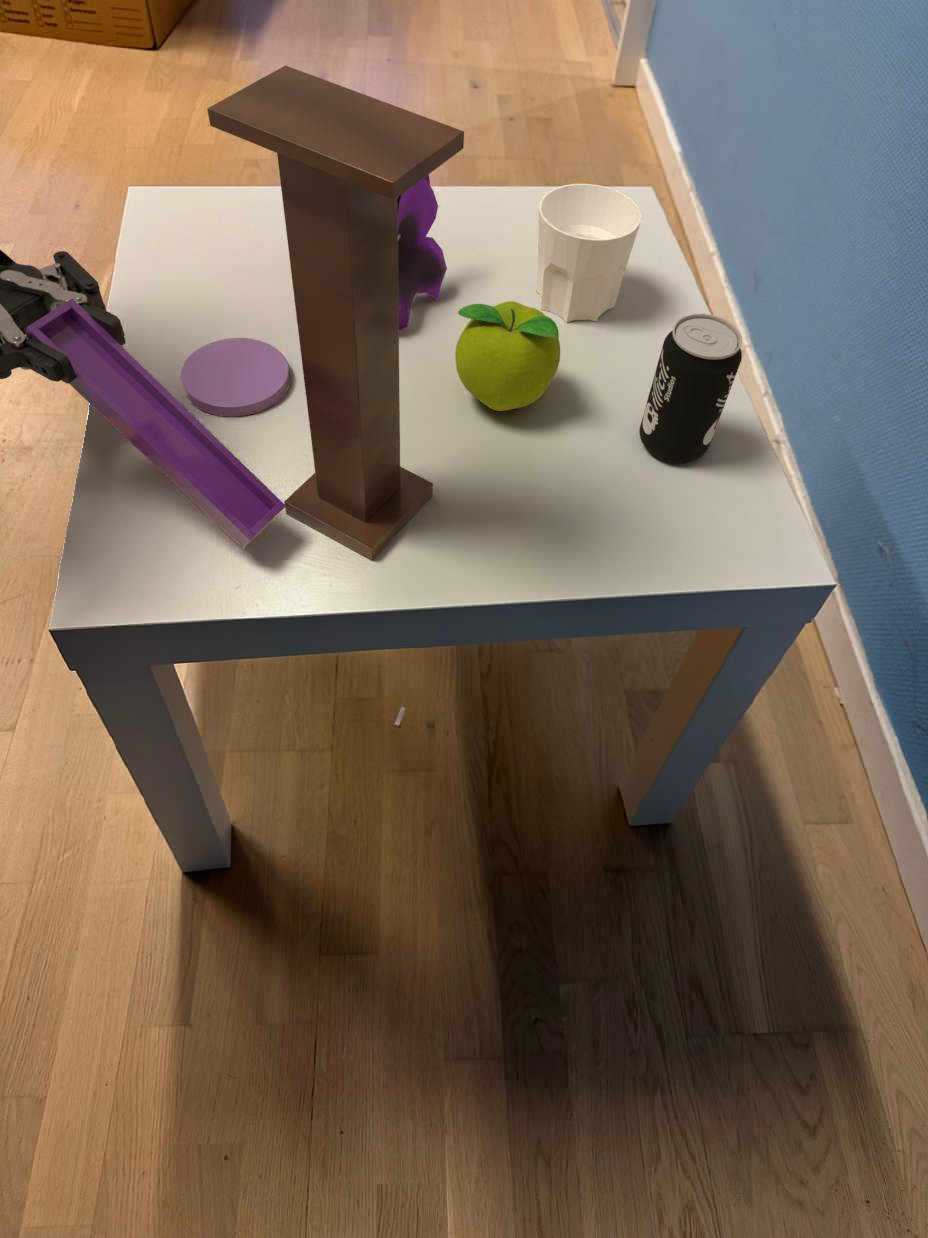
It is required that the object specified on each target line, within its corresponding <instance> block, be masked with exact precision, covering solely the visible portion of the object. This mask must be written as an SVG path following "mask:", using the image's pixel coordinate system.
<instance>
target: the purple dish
mask: <svg viewBox="0 0 928 1238" xmlns="http://www.w3.org/2000/svg"><path fill="white" fill-rule="evenodd" d="M25 336H26V339H27V340H29V339H31V338H34V339H36V340H38V341H40V342H42V343H44V344H46V345H48V346H50V347H51V348H53V349H55V350H57V351H59V352H61V353H63V354H64V355H66V356H67V357H68V358H69V360H70V362H71V364H72V367H73V369H74V372H75V375H76V379H74V380H73V381H72V382H70V383H69V384H68V385H69V386H70V387H72V388H73V389H74V390H75V391H76V392H77V393H78V394H79V395H80V396H81V397H82V398H83V399H84V400H85V401H87V402H88V403H89V405H91V406H92V407H93V408H94V409H95V410H96V412H98V413H99V414H100V415H101V416H103V418H104V419H105V420H106V421H108V422H109V423H110V424H111V425H112V426H113V427H114V428H115V429H116V430H117V431H118V432H119V433H120V434H121V435H122V436H124V438H126V439H127V440H128V441H129V443H131V444H132V445H133V446H134V447H135V448H136V449H137V450H138V451H139V452H140V453H142V455H143V456H145V458H147V459H148V461H150V463H152V464H153V465H154V466H155V467H156V468H157V469H158V470H159V471H161V473H162V474H164V475H165V477H167V479H169V480H170V481H171V482H172V483H173V484H175V486H176V487H177V488H178V489H179V490H181V492H182V493H183V494H185V496H187V497H188V498H189V499H190V500H191V501H192V502H193V503H194V504H195V505H196V506H197V507H199V509H200V510H202V512H203V513H205V514H206V516H208V518H209V519H211V520H212V521H213V522H214V523H215V524H216V525H217V526H218V527H219V528H221V530H223V532H225V533H226V534H227V535H228V536H229V537H230V538H231V539H232V540H233V541H234V542H235V543H236V544H237V545H238V546H239V547H240V548H241V549H245V548H246V547H248V545H249V544H250V543H251V542H252V541H253V540H254V539H256V537H257V536H259V535H260V534H261V533H262V532H263V531H264V530H265V529H266V528H267V527H268V526H269V525H270V524H271V523H272V522H273V521H274V520H276V518H278V517H279V515H280V514H281V513H282V512H283V510H285V507H286V505H285V504H284V502H283V501H282V500H281V499H280V498H278V496H277V495H276V494H275V493H274V492H272V490H271V489H270V488H269V487H268V486H266V485H265V484H264V483H263V481H261V480H260V479H259V477H257V475H255V474H254V473H253V472H252V471H251V470H250V469H249V468H248V467H247V466H246V465H245V464H244V463H243V462H242V460H240V459H239V458H238V457H236V455H235V454H233V453H232V451H230V450H229V449H228V448H227V447H226V446H225V445H224V444H223V442H221V441H220V440H219V439H218V438H217V437H216V436H215V435H214V434H213V433H212V432H211V431H210V430H208V428H207V427H206V426H205V425H204V424H202V422H200V420H199V419H197V418H196V416H194V415H193V413H191V412H190V411H189V410H188V409H187V408H186V407H185V406H184V405H183V404H182V403H181V402H180V401H179V400H178V399H177V398H176V397H175V396H174V395H173V394H172V393H171V392H170V391H169V390H168V389H166V388H165V387H164V385H162V383H160V382H159V381H158V380H157V379H156V378H155V377H154V376H153V375H152V374H151V373H150V372H149V371H148V370H147V369H146V368H145V367H144V366H143V365H142V364H141V363H140V362H139V361H137V359H136V358H135V357H134V356H132V355H131V354H130V353H129V352H128V351H127V349H125V348H124V347H123V346H121V345H120V344H119V343H118V342H117V341H116V340H115V339H114V338H113V337H112V336H110V335H109V334H108V333H107V332H106V331H105V330H104V329H103V328H102V327H101V326H100V325H99V324H98V323H97V322H96V321H95V320H94V319H93V318H92V317H91V316H90V315H89V314H88V313H87V312H86V311H85V310H84V309H83V308H82V307H81V306H80V305H79V304H78V303H77V302H76V301H75V300H74V299H70V300H69V301H67V302H66V303H64V304H63V305H61V306H59V307H58V308H56V309H55V310H53V311H52V312H50V313H48V314H47V315H45V316H44V317H42V318H41V319H39V320H37V321H36V322H34V323H33V324H31V325H29V326H28V327H27V330H26V335H25Z"/></svg>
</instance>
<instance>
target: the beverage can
mask: <svg viewBox="0 0 928 1238" xmlns="http://www.w3.org/2000/svg"><path fill="white" fill-rule="evenodd" d="M742 344H743V337H742V334H741V332H740V330H739V329H738V328H737V326H736V325H734V324H733V323H732V322H730V321H728V320H727V319H725V318H724V317H723V318H722V317H720V316H718V315H715V314H709V313H690V314H687V315H684V316H682V317H680V318H679V319H678V320H676V322H675V323H674V324H673V327H672V330H671V331H670V332H669V333H668V334H667V335H666V336H665V337H664V340H663V343H662V346H661V351H660V354H659V358H658V361H657V363H656V364H657V365H656V368H655V372H654V376H653V379H652V383H651V387H650V390H649V394H648V397H647V401H646V404H645V406H644V407H645V408H644V411H643V414H642V417H641V418H642V419H641V422H640V425H639V429H638V430H639V438H640V441H641V443H642V444H643V445H644V447H645V448H646V450H647V451H648V452H649V453H650V454H651V455H653V456H654V457H655V458H657V459H659V460H661V461H663V462H667V463H673V464H683V463H689V462H692V461H694V460H697V459H699V458H700V457H702V456H704V455H705V454H706V453H707V451H708V450H709V448H710V446H711V443H712V440H713V437H714V435H715V432H716V429H717V427H718V424H719V422H720V419H721V416H722V413H723V410H724V408H725V405H726V403H727V400H728V397H729V395H730V392H731V390H732V387H733V384H734V381H735V378H736V376H737V373H738V370H739V369H740V365H741V362H742V360H743V359H742V358H743V353H742V352H743V351H742V348H741V347H742Z"/></svg>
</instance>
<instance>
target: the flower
mask: <svg viewBox="0 0 928 1238" xmlns="http://www.w3.org/2000/svg"><path fill="white" fill-rule="evenodd" d="M438 210H439V204H438V201H437V198H436V194H435V192H434V189H433V188H432V185H431V181H430V174H428V175H427V176H426V177H424V178H423V179H422V180H420V181H419V182H418V183H416V184H415V185H414V186H412V187H411V188H410V189H408V190H407V191H406V192H404V193H403V194H402V195H400V196H399V197H398V198H397V217H398V308H399V331H403V330H406V329H408V327H409V321H410V316H411V311H412V310H411V309H412V305H413V303H414V300H415V298H416V295H417V294H426V295H429V296H431V297H432V298H434V299H436V300H439V296H440V292H441V287H442V285H443V281H444V279H445V277H446V273H447V270H448V267H447V263H446V259H445V256H444V252H443V248H442V247H441V246H440V245H439V243H438V242H437V241H436V240H435V238H433V237H430V236H427V235H428V234H429V231H430V230H431V228H432V226H433V224H434V222H435V221H436V219H437V216H438V215H437V214H438Z"/></svg>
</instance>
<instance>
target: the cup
mask: <svg viewBox="0 0 928 1238" xmlns="http://www.w3.org/2000/svg"><path fill="white" fill-rule="evenodd" d="M641 212H642V211H641V210H640V207H639V206H638V205H637V203H636V202H635V201H634V200H633V199H632V198H631V197H629V196H628V195H626V194H625V193H623V192H621V191H618V190H616V189H614V188H612V187H607V186H603V185H599V184H593V183H592V184H591V183H571V184H565V185H561V186H558V187H556V188H553V189H551V190H550V191H548V192H547V193H545V194H544V195H543V196H542V197H541V199H540V201H539V205H538V230H537V232H538V235H537V236H538V238H537V239H538V240H537V248H538V249H537V251H538V252H537V263H536V264H537V267H536V284H535V285H536V286H535V292H536V293H537V294H538V295H539V296H540V298H541V306H540V311H546V312H549V313H552V314H554V315H556V316H557V317H560V318H562V320H564V322H565V323H570V322H572V321H592V322H598V321H599V317H600V316H602V314H604V313H605V312H606V311H608V310H611V309H614V308H615V306H616V303H617V299H618V296H619V293H620V289H621V287H622V283H623V280H624V276H625V272H626V270H627V266H628V263H629V259H630V257H631V253H632V250H633V247H634V243H635V241H636V238H637V234H638V231H639V228H640V225H641V222H642V213H641Z"/></svg>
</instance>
